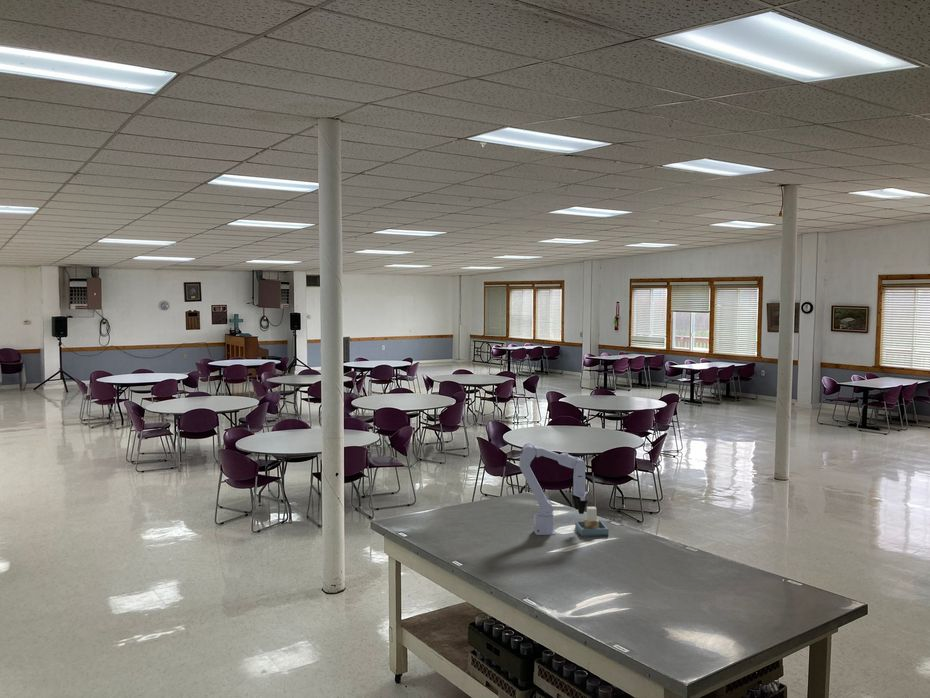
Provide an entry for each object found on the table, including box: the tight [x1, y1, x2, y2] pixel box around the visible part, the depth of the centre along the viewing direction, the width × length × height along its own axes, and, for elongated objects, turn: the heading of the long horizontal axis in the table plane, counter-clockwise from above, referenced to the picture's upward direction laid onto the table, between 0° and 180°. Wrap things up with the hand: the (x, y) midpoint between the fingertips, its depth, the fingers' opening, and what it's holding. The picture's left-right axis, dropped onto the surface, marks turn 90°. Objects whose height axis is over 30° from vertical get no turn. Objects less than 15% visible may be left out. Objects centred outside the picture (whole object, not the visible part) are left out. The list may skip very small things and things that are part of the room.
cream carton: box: [586, 506, 598, 521], centre depth 329 cm, size 4×4×6 cm
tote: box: [574, 520, 609, 538], centre depth 329 cm, size 13×13×4 cm
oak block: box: [583, 518, 600, 529], centre depth 329 cm, size 6×5×5 cm
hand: (579, 511), depth 329 cm, fingers open, 7 cm apart
